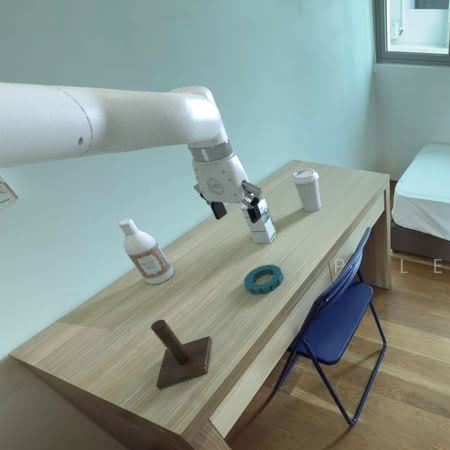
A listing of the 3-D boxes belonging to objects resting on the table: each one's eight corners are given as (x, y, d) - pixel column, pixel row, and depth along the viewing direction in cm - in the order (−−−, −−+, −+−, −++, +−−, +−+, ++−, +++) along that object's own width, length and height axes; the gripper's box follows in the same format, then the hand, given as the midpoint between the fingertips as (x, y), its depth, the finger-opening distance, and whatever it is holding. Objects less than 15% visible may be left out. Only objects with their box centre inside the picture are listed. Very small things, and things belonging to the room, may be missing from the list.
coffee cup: (316, 199, 127) (308, 165, 119) (329, 206, 122) (322, 172, 113) (295, 208, 122) (286, 173, 113) (308, 216, 116) (299, 181, 108)
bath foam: (147, 288, 88) (107, 232, 77) (147, 275, 93) (109, 220, 81) (175, 278, 91) (140, 222, 80) (173, 265, 96) (140, 211, 84)
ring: (285, 286, 87) (284, 281, 86) (248, 299, 83) (245, 294, 82) (279, 265, 94) (278, 260, 93) (244, 276, 91) (242, 271, 89)
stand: (207, 373, 66) (179, 334, 58) (159, 389, 64) (123, 351, 56) (211, 339, 73) (187, 301, 65) (168, 353, 71) (137, 314, 63)
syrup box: (271, 243, 103) (258, 206, 95) (254, 243, 104) (239, 207, 95) (277, 233, 108) (265, 197, 100) (260, 233, 108) (247, 197, 100)
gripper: (163, 155, 63) (197, 223, 73) (236, 159, 60) (262, 230, 70) (191, 142, 69) (219, 207, 79) (258, 146, 66) (279, 213, 76)
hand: (239, 218), depth 74 cm, fingers open, 9 cm apart
